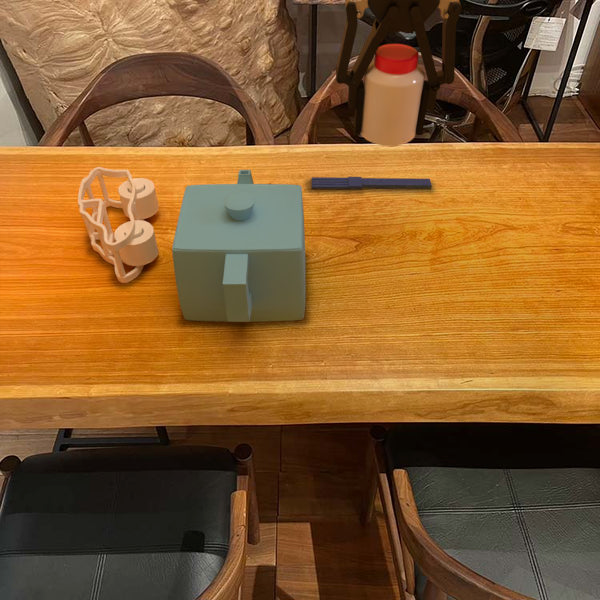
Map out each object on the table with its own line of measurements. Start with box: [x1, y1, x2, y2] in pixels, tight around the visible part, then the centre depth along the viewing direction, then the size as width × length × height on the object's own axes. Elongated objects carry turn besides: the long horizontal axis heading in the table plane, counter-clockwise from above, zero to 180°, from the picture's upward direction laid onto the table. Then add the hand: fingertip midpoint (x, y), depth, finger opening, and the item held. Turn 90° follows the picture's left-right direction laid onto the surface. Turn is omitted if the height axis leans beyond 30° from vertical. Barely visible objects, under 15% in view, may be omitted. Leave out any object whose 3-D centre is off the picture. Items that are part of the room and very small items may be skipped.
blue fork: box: [310, 176, 432, 191], centre depth 102 cm, size 21×3×1 cm, turn 89°
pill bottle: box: [360, 43, 425, 147], centre depth 78 cm, size 8×8×11 cm
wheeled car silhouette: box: [77, 166, 160, 284], centre depth 90 cm, size 20×11×7 cm, turn 9°
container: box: [171, 169, 307, 323], centre depth 80 cm, size 17×25×15 cm
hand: (387, 129), depth 81 cm, fingers closed on pill bottle, 8 cm apart
